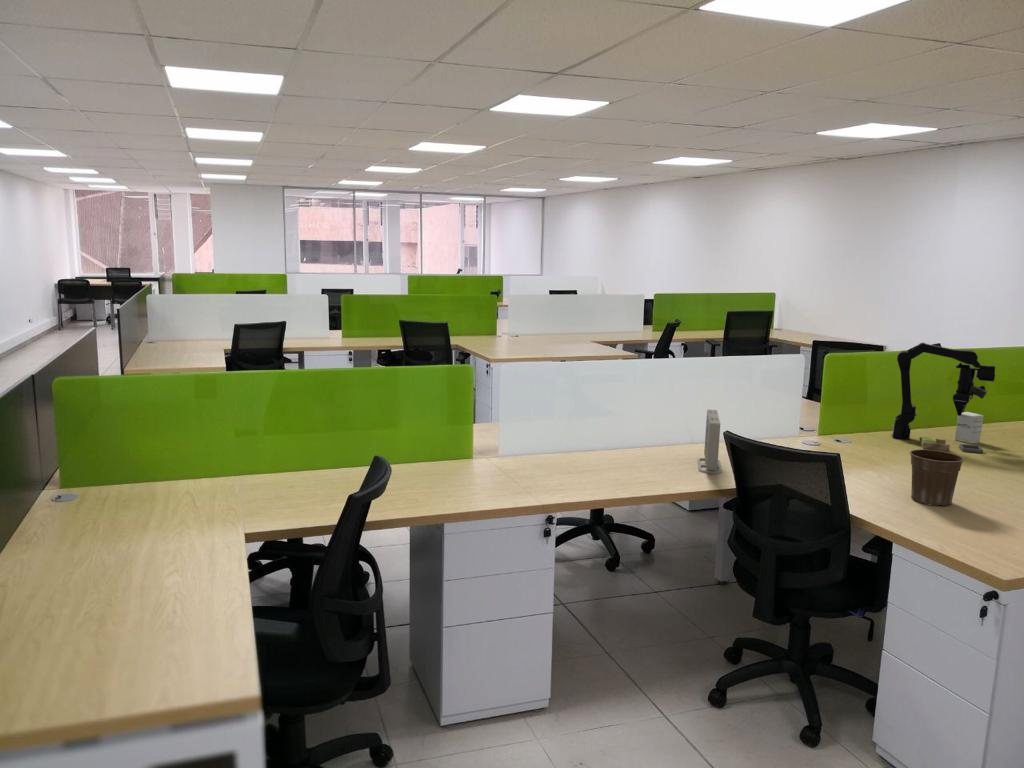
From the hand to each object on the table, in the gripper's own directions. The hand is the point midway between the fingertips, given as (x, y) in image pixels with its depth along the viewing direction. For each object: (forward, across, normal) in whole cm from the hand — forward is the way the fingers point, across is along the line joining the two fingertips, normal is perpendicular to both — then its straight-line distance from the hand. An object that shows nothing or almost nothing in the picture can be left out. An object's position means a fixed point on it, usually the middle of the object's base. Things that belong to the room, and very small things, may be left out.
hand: (960, 413), depth 342 cm
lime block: (+14, -12, +9) cm, 21 cm away
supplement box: (+14, +10, -3) cm, 17 cm away
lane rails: (+14, -12, +7) cm, 20 cm away
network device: (+16, -106, +71) cm, 129 cm away
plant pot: (+14, -96, -4) cm, 97 cm away
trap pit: (+14, -8, -6) cm, 17 cm away
